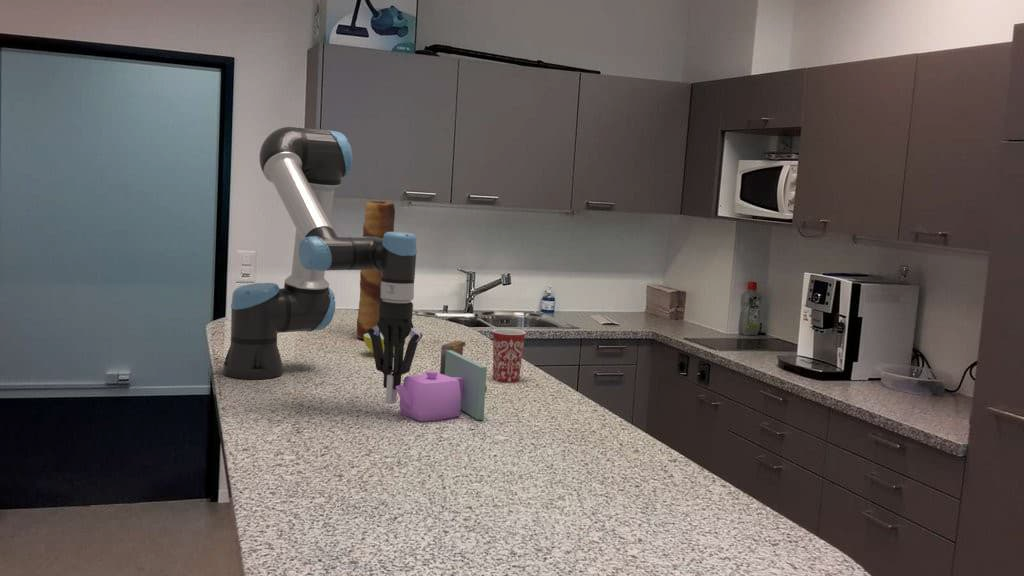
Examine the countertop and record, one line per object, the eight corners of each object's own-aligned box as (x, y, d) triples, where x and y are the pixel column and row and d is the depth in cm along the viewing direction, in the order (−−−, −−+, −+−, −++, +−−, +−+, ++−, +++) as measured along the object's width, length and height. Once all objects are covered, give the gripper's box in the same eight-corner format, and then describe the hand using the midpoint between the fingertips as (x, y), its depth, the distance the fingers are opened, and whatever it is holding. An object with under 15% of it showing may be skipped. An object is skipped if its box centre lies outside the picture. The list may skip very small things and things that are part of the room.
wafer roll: (395, 339, 304) (402, 202, 299) (374, 343, 296) (380, 202, 290) (371, 335, 310) (377, 200, 305) (350, 338, 301) (356, 200, 296)
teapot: (407, 425, 201) (409, 379, 200) (382, 414, 209) (384, 370, 208) (473, 416, 213) (476, 372, 211) (447, 405, 221) (449, 363, 219)
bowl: (355, 356, 273) (356, 335, 272) (375, 350, 284) (376, 330, 283) (388, 361, 269) (389, 340, 268) (407, 355, 280) (408, 334, 279)
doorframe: (436, 398, 227) (439, 346, 226) (452, 390, 237) (455, 340, 235) (446, 400, 226) (449, 347, 225) (462, 392, 236) (465, 341, 234)
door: (443, 398, 226) (445, 350, 225) (454, 398, 227) (457, 350, 226) (477, 419, 208) (480, 367, 207) (490, 418, 210) (493, 366, 208)
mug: (526, 383, 250) (529, 334, 249) (493, 383, 248) (496, 333, 247) (515, 373, 263) (518, 326, 261) (484, 373, 260) (487, 325, 259)
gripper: (363, 299, 208) (358, 401, 210) (415, 305, 204) (409, 409, 206) (378, 296, 215) (373, 395, 217) (429, 302, 211) (423, 403, 213)
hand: (391, 402), depth 212 cm, fingers closed
